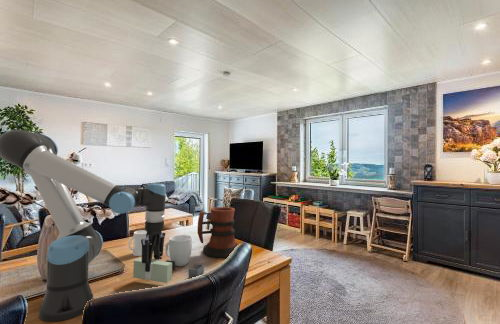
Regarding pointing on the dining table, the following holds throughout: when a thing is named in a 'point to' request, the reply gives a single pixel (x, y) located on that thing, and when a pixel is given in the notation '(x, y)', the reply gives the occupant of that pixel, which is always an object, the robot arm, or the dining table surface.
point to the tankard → (218, 232)
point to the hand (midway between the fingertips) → (151, 276)
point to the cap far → (172, 264)
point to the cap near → (196, 271)
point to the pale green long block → (154, 270)
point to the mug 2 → (179, 249)
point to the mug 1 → (138, 242)
